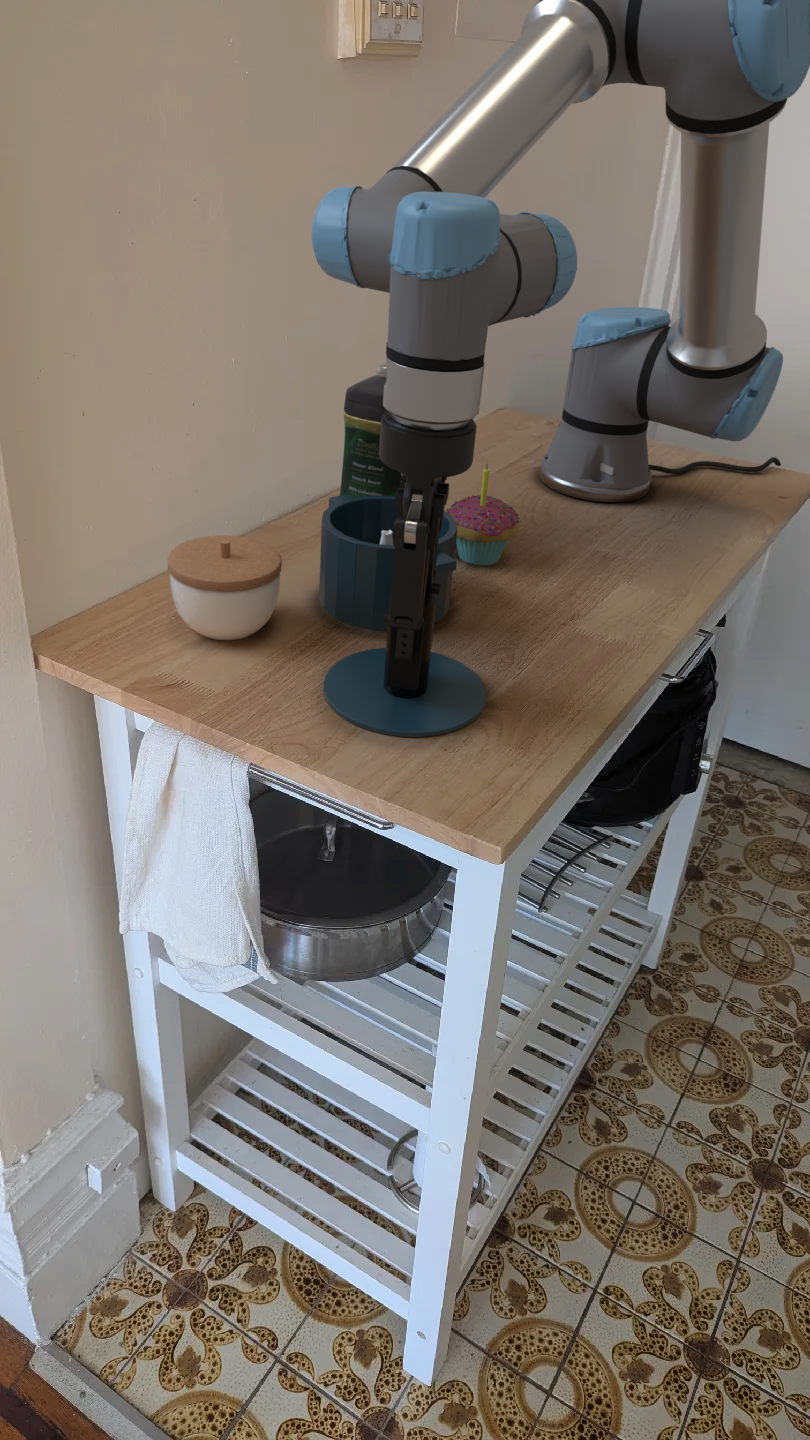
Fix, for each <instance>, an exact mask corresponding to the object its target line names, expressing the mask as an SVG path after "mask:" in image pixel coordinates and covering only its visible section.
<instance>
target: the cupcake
mask: <svg viewBox="0 0 810 1440" xmlns="http://www.w3.org/2000/svg"><path fill="white" fill-rule="evenodd" d="M489 478H490V469H489V463H488V462H486V463H485V468H483V473H482V481H481V491H480V495H471V496H468V497H465V498H463V499H460V500H458V501H455V502H454V503H453V504H452V505H450V507H449V508H447V509H446V512H447V513H449V514H450V515H451V516H452V517H453V518H454V520H455V521H456V522H457V529H458V531H457V540H456V550H457V554H458V558H459V559H460V560H461V561H463V562H465V563H467V564H470V565H475V566H492V565H494V564H497V563H498V562H499V561H500V558H501V556H502V554H503V552H504V550H505V548H506V546H507V544H508V543H509V541H510V540H511V539H513V538H515V537H516V536H517V534H518V531H519V524H520V518H519V514H518V513H516V510H515V509H514V508H513V507H512V506H510V505H509V504H507V503H506V502H503V500H501V499H499V498H497V497H493V496H492V495H491V496H490V495H488V486H489Z"/></svg>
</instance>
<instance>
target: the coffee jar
mask: <svg viewBox="0 0 810 1440" xmlns="http://www.w3.org/2000/svg"><path fill="white" fill-rule="evenodd" d="M385 383H386V379H385V378H380V377H379V376H378V375H377V374H376V375H373V376H370V377H368V378H367V377H366V378H365V379H363V380H361V381H359V382H357V383H354V384H353V385H351V386H349V387H347V389H346V392H345V398H344V405H343V424H344V443H343V458H342V466H341V467H342V468H341V479H340V480H341V481H340V490H339V496H340V495H345V494H348V495H350V496H351V497H353V498H356V497H362V496H395V497H396V491H397V488H400V485H401V479H402V478H406V477H405V476H404V475H403V474H402V473H401V472H399V471H397V470H392V469H391V468H389V467H387V466H386V465H385V464H384V463H383V462H382V461H381V459H380V456H379V444H380V429H381V417H382V416H383V415H384V414H385V412H386V411H388V410H387V409H386V408H385V407H384V406H383V396H384V385H385Z"/></svg>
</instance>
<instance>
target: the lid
mask: <svg viewBox="0 0 810 1440" xmlns="http://www.w3.org/2000/svg"><path fill="white" fill-rule="evenodd" d="M390 603H391V595H390ZM435 609H436V598H435V596H434V595H433V594H432V593H430V592H428V591H425V599H424V608H423V618H424V620H423V621H425V622H424V632H423V642H422V653H421V663H420V673H419V684H418V689H417V690H410V689H403V688H396V687H389V686H387V676H388V664H389V651H390V638H391V627H390V626H389V623H388V631H386V645H385V646H386V647H378V648H372V649H366V650H361V651H358V652H355V653H352V654H350V655H347V656H344V657H343V658H341V659H340V660H339V661H338V660H337V662H336V663H335V664H333V665H332V666H331V667H330V669H328V671H327V672H326V674H325V676H324V680H323V689H322V691H323V695H324V698H325V701H326V702H327V704H328V705H329V707H330V708H331V709H332V710H333V711H334V712H335V713H336V714H337V715H339V716H340V717H341V718H342V719H344V720H346V721H348V722H349V723H350V724H353V725H355V726H357V727H360V728H362V729H364V730H368V731H370V732H374V733H378V734H382V735H387V736H393V737H400V738H401V737H403V738H428V737H435V736H437V737H438V736H441V735H445V734H449V733H452V732H456V731H458V730H461V729H463V728H465V727H467V726H468V725H471V724H472V723H473V722H475V721H476V720H477V719H478V718H479V717H480V716H481V714H482V713H483V711H484V709H485V707H486V704H487V689H486V686H485V685H484V682H483V681H482V679H481V677H479V675H477V673H476V672H475V671H473V670H472V669H471V668H470V667H468V666H466V665H465V664H464V663H462V662H460V661H459V660H457V659H454V658H452V657H450V656H447V655H444V654H441V653H438V652H435V651H432V646H433V638H434V637H433V636H434V628H435V623H434V619H435ZM389 614H390V604H389Z"/></svg>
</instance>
